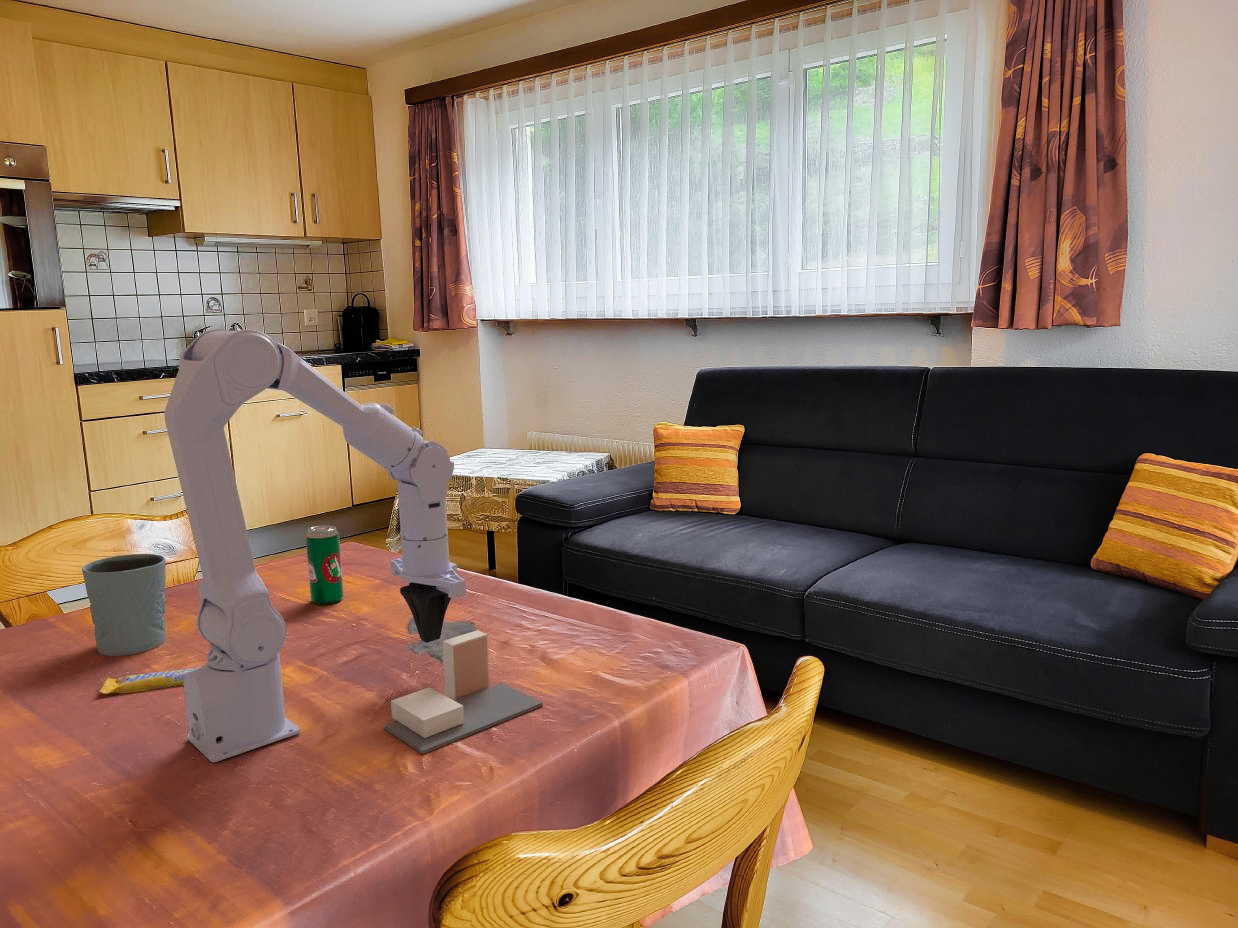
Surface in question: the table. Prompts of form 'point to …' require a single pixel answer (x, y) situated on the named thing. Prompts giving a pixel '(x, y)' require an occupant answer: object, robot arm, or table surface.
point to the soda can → (324, 564)
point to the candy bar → (145, 681)
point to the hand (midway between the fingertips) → (430, 639)
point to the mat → (471, 716)
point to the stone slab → (436, 646)
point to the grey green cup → (127, 602)
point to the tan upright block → (466, 664)
